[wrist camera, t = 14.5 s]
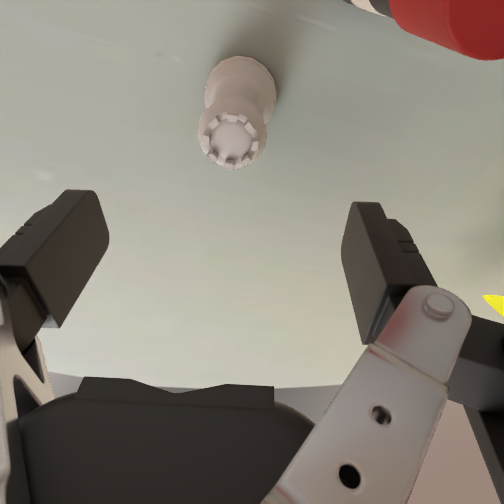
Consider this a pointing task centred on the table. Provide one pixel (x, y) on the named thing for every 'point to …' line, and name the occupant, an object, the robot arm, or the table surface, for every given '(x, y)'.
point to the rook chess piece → (236, 112)
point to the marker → (449, 23)
